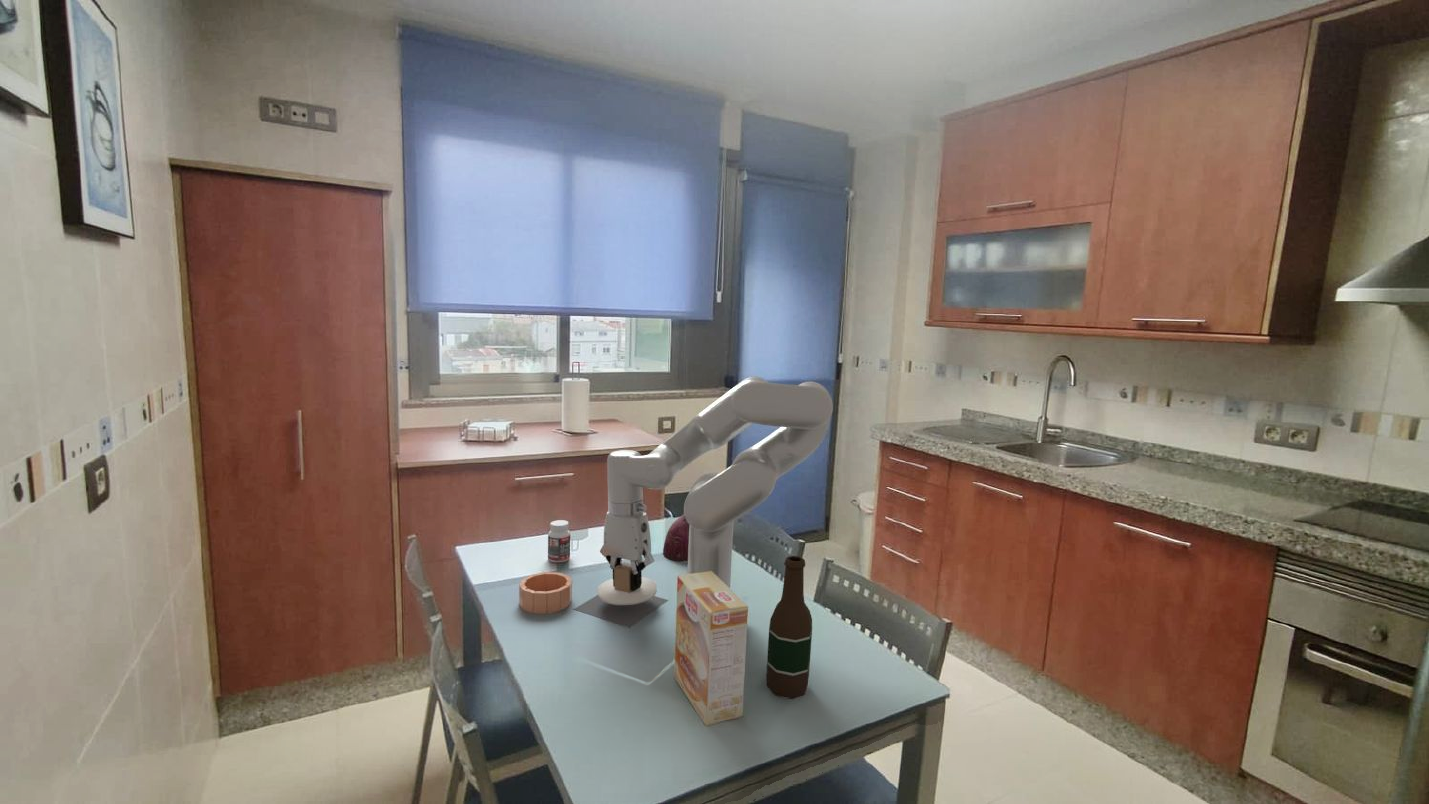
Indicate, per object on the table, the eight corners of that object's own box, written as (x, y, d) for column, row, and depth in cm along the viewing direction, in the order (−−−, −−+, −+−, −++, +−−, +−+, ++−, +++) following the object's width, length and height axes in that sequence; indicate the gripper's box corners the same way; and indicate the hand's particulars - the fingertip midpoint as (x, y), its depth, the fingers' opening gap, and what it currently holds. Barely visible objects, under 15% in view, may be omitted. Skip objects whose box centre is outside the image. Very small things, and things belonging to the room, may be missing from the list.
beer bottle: (780, 669, 116) (788, 546, 113) (817, 686, 112) (826, 558, 108) (756, 687, 110) (764, 558, 107) (793, 705, 106) (802, 571, 102)
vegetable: (703, 564, 173) (720, 515, 171) (682, 571, 164) (700, 519, 162) (674, 546, 178) (691, 498, 176) (652, 552, 169) (669, 502, 167)
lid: (667, 586, 141) (667, 561, 140) (634, 610, 129) (633, 582, 129) (621, 575, 147) (620, 551, 146) (585, 597, 135) (584, 571, 135)
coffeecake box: (672, 676, 113) (676, 574, 110) (708, 669, 115) (712, 569, 113) (704, 727, 99) (709, 612, 96) (744, 717, 102) (750, 605, 99)
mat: (668, 602, 142) (668, 600, 142) (629, 629, 129) (629, 627, 129) (615, 586, 149) (615, 584, 149) (573, 611, 135) (573, 609, 135)
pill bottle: (564, 564, 160) (564, 527, 159) (543, 561, 162) (544, 525, 160) (573, 556, 166) (574, 520, 165) (553, 553, 167) (554, 518, 166)
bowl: (581, 600, 141) (581, 579, 140) (547, 620, 131) (547, 597, 130) (544, 588, 146) (544, 568, 145) (509, 607, 136) (509, 585, 135)
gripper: (667, 507, 135) (668, 587, 137) (605, 497, 143) (607, 573, 145) (647, 517, 128) (649, 601, 131) (584, 506, 136) (586, 585, 138)
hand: (627, 585), depth 138 cm, fingers closed on lid, 4 cm apart
